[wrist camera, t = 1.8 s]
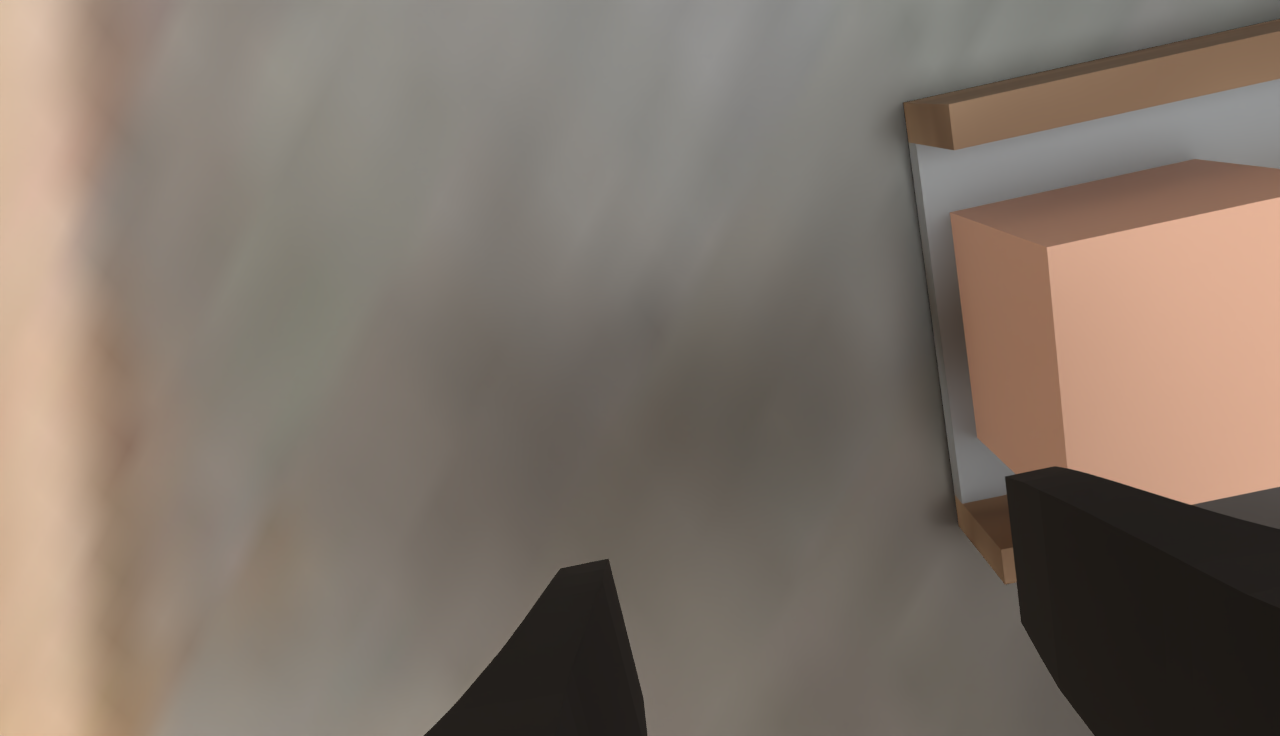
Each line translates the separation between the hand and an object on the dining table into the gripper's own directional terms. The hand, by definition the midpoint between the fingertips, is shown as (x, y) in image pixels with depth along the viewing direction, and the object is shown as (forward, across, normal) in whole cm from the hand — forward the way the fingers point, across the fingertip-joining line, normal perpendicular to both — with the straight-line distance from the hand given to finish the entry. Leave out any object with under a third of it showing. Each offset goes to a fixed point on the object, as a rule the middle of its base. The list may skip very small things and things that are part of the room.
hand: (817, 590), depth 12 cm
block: (+9, -8, 0) cm, 12 cm away
